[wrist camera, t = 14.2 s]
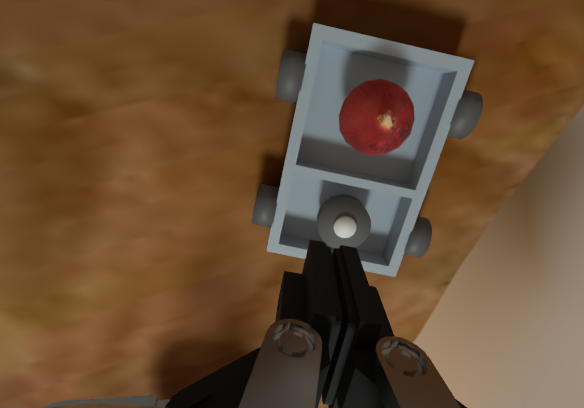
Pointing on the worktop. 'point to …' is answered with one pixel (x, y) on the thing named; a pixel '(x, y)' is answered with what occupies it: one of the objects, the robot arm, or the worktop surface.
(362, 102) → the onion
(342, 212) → the spare wheel
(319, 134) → the chassis
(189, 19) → the worktop surface
